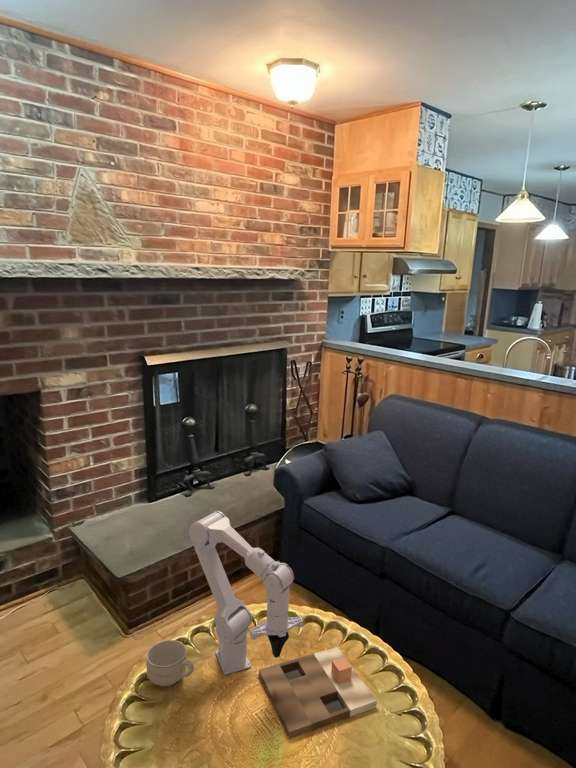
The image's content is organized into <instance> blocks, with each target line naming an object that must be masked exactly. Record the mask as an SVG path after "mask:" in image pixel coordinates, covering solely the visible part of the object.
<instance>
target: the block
mask: <svg viewBox="0 0 576 768" xmlns="http://www.w3.org/2000/svg"><path fill="white" fill-rule="evenodd" d="M347 660H348V659H347V658H346V656H345V657H342V658H339V659H336V660H332V669H331V674H332V675H333V677H334V678H335V680H336V681H337V683H338V684H339V683H342V682H345V681H348V680H351V673H352V667H353V666H352V665H351V663H350V662H349V661H347ZM349 663H350V664H349Z"/></svg>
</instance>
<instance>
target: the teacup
mask: <svg viewBox="0 0 576 768" xmlns="http://www.w3.org/2000/svg"><path fill="white" fill-rule="evenodd" d="M187 651H188V650H187V646H186V645H185V644H184V643H182V642H181V641H179V640H174V639H166V640H161V641H159V642H158V641H157V642H156V643H155V644H153V645H151V646H150V647H149V648H148V649H147V651H146V653H145V657H146V674H147V678H148V679H149V681H150V682H151V683H152V684H154V685H156V686H159V687H169V686H173V685H174V684H176V683H177V682H178V681H179V680H183V679H184V678H187V677H189V676H191V675H192V674H193V673H194V671H195V667H194V663H193V662H192V661H190V660H189V659H187ZM186 666H187V668H188V670H189V671H186ZM185 671H186V672H185Z"/></svg>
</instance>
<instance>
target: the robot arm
mask: <svg viewBox="0 0 576 768" xmlns="http://www.w3.org/2000/svg"><path fill="white" fill-rule="evenodd" d="M188 535H189V537H190V540H191V542H192V545H193V547H194V551H195V553H196V555H197V558H198V560H199V562H200V565H201V568H202V570H203V573H204V576H205V578H206V580H207V583H208V586H209V588H210V591H211V594H212V596H213V597H214V598H213V599H214V601H215V603H216V605H217V609H216V612H215V614H214V616H213V617H214V618H213V621H214V623H215V632H216V634H217V636H218V650H215V655H216V657H217V660H218V663H219V665H220V668H221V670H222V673H223V675H224V676H225V675H229V674H232V673H237V672H240V671H243V670H247V669H250V668H251V666H252V664H251V662H250V661H249V658H248V656H247V646H248V645H247V643H248V642H247V641H248V639H247V638H248V635H247V634H248V631H250V632H249V633H250V634H249V635H250V638H251V640H252V641H254V640H257V638H260V637H263V636H267V638H268V640H269V643H270V647H271V652H272V656H273V657H274V658H275V659H277V658H279V657H280V656H281V652H282V650H283V647H284V645H285V644H286V642H287V641H288V640H289V639H290V634H289V631H290V630H292V629H294V628H297V627H298V628H303V627H304V620H303V619H302V617H301V615H300V616H291V617H290V616H289V606H290V605H289V604H290V603H289V602H290V585H291V584H292V583H293V582H294V580H295V575H294V571H293V569H292V568H291V567H290V566H289V564H287V563H285V562H280V561H277V560H275V559H273V558H272V557H271V556H269V554H268V553H266V552H265V550H263V549H262V548H261V547H252V546H251V545H250V544H249V543H248V542H247V541H246V540H245V539H244V538H243V536H241V534H239V533H238V532H237V531H236V530H235V529H234V528H233V527H232V526H231V521H230V519H229V517H227V516H226V515H225V514H224V513H223V512H221V511H220V510H215V511H213V512H212V513H210V514H209V515H207V516H205V517H203V518H201V519H199V520H198V521H195V522H193V523H192V524H191V526H190V528H189V531H188ZM218 543H223V544H225V545H226V546H228V547H229V548H230V549H232V550H233V551H235V553H237V554H239V555H240V556H241V557H242V558H243V559H244V564H245V566H246V567H247V568H248V569H249V570H250V571H251V572H253V574H255V575H256V576H257V577H259V578H260V580H262V583H263V586H264V587H263V588H265V591H266V597H267V598H266V599H267V602H266V603H267V604H266V621H264V622H262V623H260V624H258V625H257V626H254V627H253V628H250V630H249V626H251V624H252V623H253V616H252V613H251V610H250V609H249V608H248V607H247V606H246V603H245V601H244V600H242V599H239V598H236V596H235V594H234V593H235V592H234V590H233V588H232V586H231V584H230V581H229V578H228V576H227V573H226V571H225V569H224V566H223V564H222V561H221V559H220V556H219V554H218V551H217V549H216V546H217V544H218Z"/></svg>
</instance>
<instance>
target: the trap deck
mask: <svg viewBox="0 0 576 768" xmlns="http://www.w3.org/2000/svg"><path fill="white" fill-rule="evenodd" d="M342 657H345V658H346V656H345V655H344V654H343V652H342V651H341V650H340V648H339V647H338V646H334V647H331V648H329V649H324V650H320V651H318V652H315V653H312V654H308V655H304V656H301V657H298V658H294V659H291V660H287V661H284V662H281V663H277V664H274V665H270V666H267V667H263V668H259V669H258V677H259V679H260V681H261V683H262V685H264V686H263V687H265V688H264V689H266V690H265V692H266V694H267V696H268V698H269V700H270V702H271V704H272V706H273V708H274V710H275V711H274V712H276V714H277V717H278V719H279V721H280V724H281V725H283V726H282V727H283V730H284V732H285V734H286V736H287V738H288V739H289V740H290V739H293V738H297V737H299V736H301V735H305V734H306V733H309V732H312V731H316V730H317V729H320V728H324V727H326V726H329V725H331V724H334V723H338V722H341V721H342V720H345V719H348V718H351V717H355V716H356V715H359V714H362V713H364V712H367V711H370V710H373V709H375V708H377V704H378V700H377V699H376V698H375V696H374V695H373V693H372V692H371V691H370V689H369V687H367V685H366V684H365V683H364V681H363V679H361V677H360V676H359V674H358V673H357V672H356V670H355V668H353V666H352V673H351V680H348V681H345V682H342V683H339V684H338V683H337V681H336V680H335V678H334V677H333V675H332V674H331V669H332V660H336V659H339V658H342ZM347 661H348V659H347ZM348 662H349V661H348ZM349 664H350V665H351V663H350V662H349Z"/></svg>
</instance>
